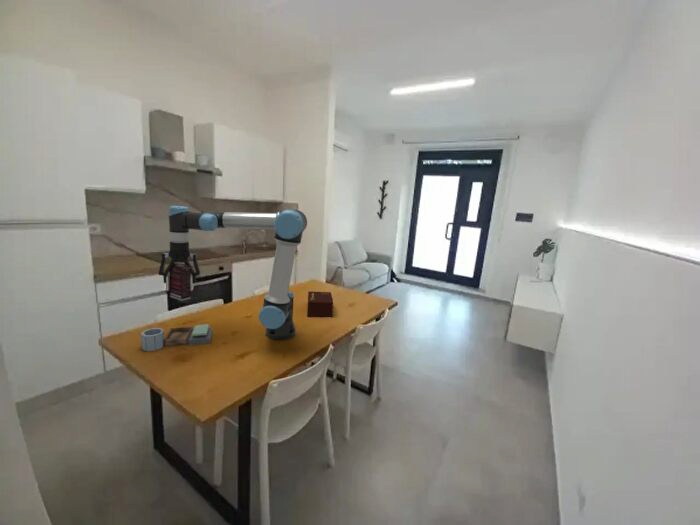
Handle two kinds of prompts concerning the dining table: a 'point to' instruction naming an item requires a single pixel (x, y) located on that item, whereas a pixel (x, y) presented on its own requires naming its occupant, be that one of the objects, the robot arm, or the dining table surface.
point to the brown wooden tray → (177, 336)
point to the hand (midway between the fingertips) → (180, 289)
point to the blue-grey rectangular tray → (200, 338)
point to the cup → (152, 339)
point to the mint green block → (200, 330)
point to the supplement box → (180, 281)
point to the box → (320, 304)
